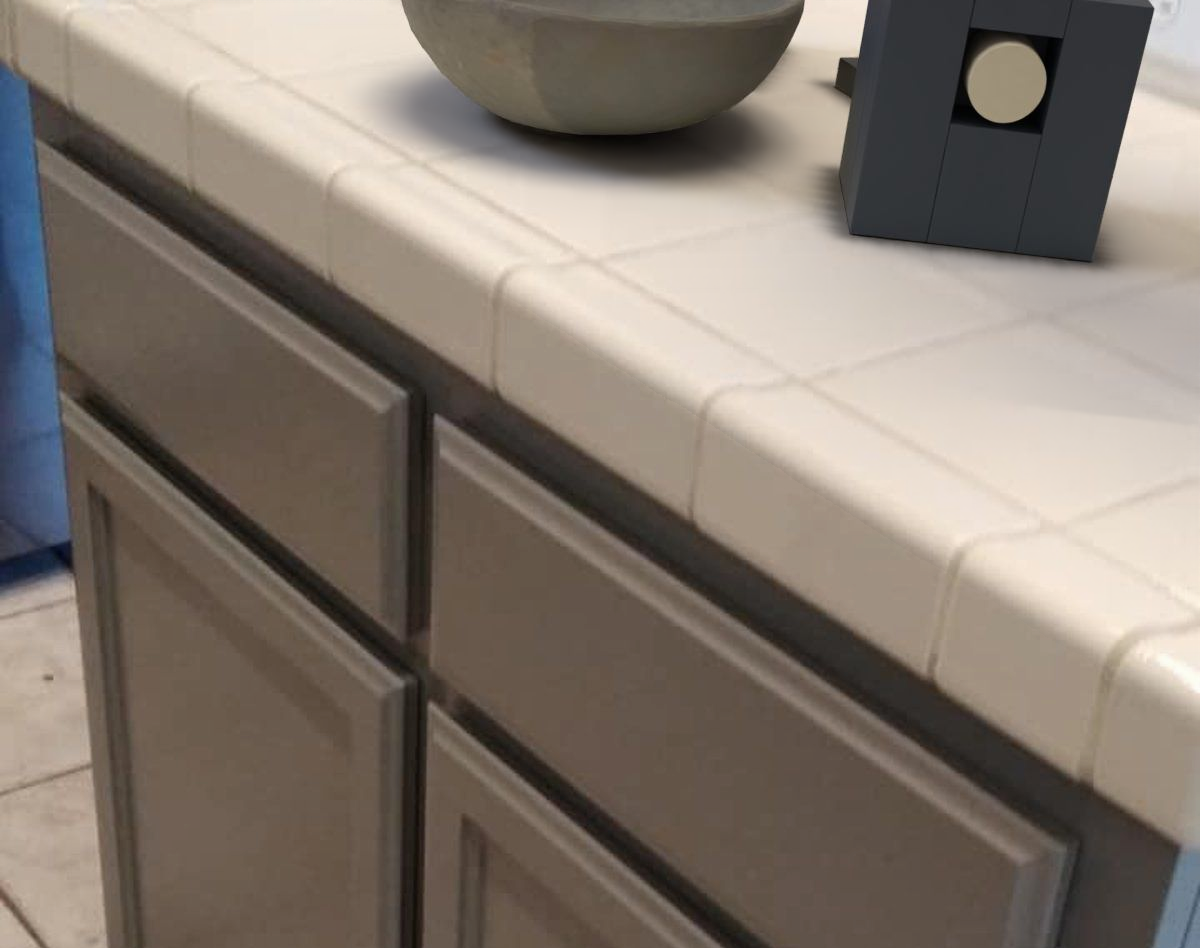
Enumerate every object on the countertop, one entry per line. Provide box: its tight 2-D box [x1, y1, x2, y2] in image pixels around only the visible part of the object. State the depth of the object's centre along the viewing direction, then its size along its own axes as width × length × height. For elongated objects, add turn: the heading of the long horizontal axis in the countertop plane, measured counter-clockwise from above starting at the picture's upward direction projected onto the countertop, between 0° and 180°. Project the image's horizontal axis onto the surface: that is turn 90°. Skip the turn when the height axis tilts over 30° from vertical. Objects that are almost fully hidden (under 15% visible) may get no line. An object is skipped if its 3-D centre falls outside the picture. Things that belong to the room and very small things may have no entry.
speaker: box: [838, 0, 1156, 262], centre depth 100 cm, size 10×12×13 cm
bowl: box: [400, 0, 806, 136], centre depth 108 cm, size 21×21×8 cm
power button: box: [960, 29, 1046, 123], centre depth 96 cm, size 4×4×4 cm
